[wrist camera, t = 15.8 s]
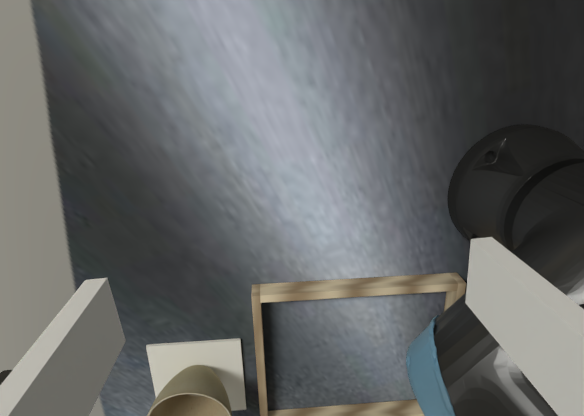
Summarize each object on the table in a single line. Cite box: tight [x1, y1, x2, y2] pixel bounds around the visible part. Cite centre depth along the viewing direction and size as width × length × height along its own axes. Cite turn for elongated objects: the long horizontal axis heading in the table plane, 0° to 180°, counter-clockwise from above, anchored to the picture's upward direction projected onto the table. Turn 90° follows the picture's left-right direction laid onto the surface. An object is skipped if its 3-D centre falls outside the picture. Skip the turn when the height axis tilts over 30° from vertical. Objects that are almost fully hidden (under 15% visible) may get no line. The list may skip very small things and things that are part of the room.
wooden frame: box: [252, 273, 466, 416], centre depth 52 cm, size 26×22×2 cm
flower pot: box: [147, 365, 232, 416], centre depth 49 cm, size 10×10×7 cm
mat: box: [146, 338, 246, 411], centre depth 53 cm, size 12×12×1 cm
